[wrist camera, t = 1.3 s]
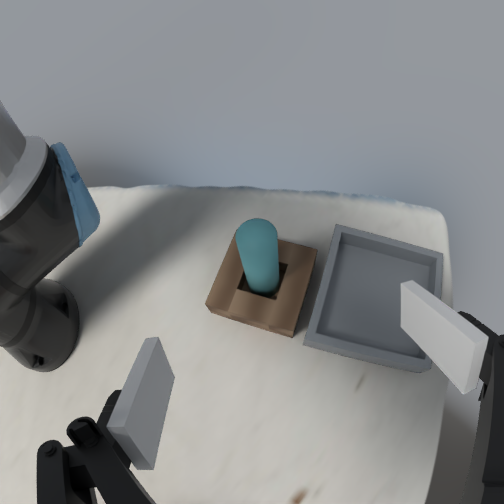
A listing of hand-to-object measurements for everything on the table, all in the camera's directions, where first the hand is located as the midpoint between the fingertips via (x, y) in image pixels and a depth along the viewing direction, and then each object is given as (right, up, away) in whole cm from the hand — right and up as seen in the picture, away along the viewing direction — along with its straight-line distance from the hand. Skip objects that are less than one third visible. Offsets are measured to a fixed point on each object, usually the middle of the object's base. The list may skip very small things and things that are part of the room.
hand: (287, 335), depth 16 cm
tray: (+15, -2, +23) cm, 28 cm away
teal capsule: (0, 0, +25) cm, 25 cm away
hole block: (0, 0, +26) cm, 26 cm away
